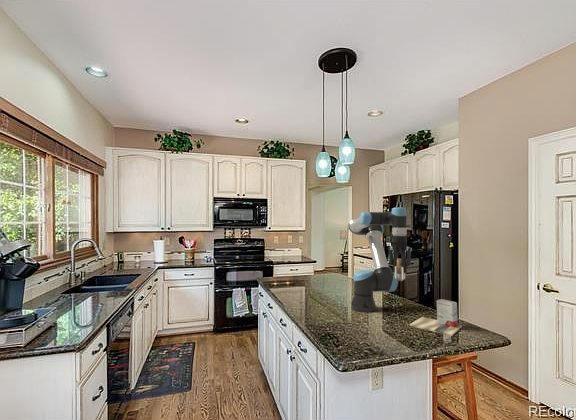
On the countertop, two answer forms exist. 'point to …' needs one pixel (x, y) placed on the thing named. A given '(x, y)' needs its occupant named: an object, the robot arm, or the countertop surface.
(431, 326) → the subfloor board
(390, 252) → the robot arm
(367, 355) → the countertop surface
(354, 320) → the countertop surface
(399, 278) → the awl dowel
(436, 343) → the countertop surface
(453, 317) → the ink box
